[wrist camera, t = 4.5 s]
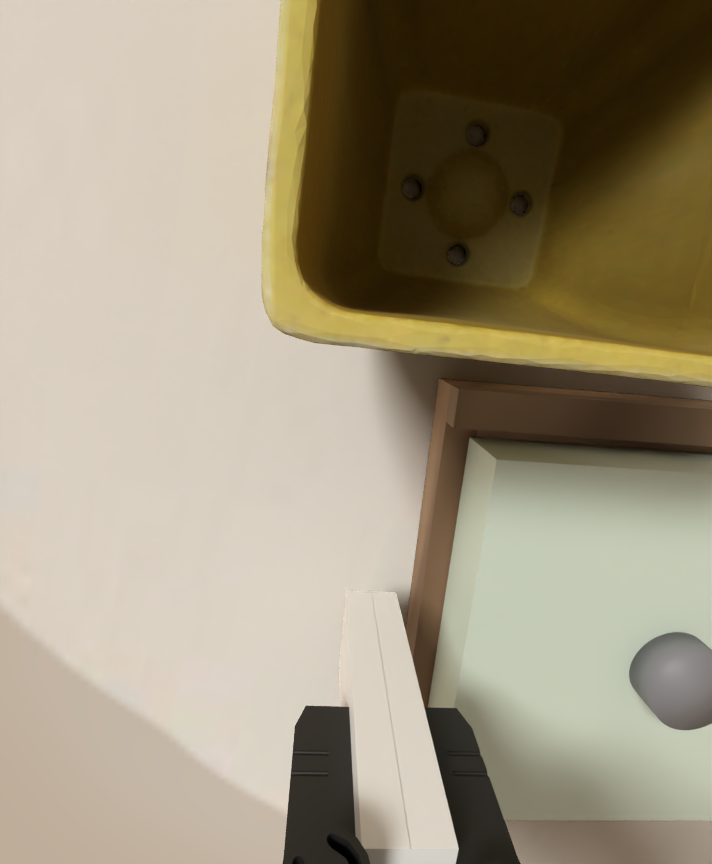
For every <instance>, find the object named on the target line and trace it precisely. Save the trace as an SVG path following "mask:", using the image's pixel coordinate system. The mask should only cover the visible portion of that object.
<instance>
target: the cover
mask: <svg viewBox="0 0 712 864" xmlns="http://www.w3.org/2000/svg"><path fill="white" fill-rule="evenodd" d="M428 707H433V708H457V709H458V710H459V712H460V713H461V714H462V716H463V717H464V718H465V720H466V721H467V722H468V723H469V725H470V726H471V727H472V729H473V732H474V735H475V738H476V740H477V743H478V746H479V749H480V755H481V756H482V758H483V760H484V763H485V766H486V769H487V775H488V777H489V778H490V781H491V783H492V786H493V789H494V792H495V795H496V798H497V801H498V803H499V806H500V809H501V812H502V815H503V818H504V821H712V454H699V453H685V452H671V451H657V450H643V449H629V448H615V447H601V446H586V445H572V444H558V443H544V442H530V441H516V440H502V439H488V438H473V437H470V438H469V444H468V451H467V457H466V463H465V470H464V476H463V483H462V489H461V496H460V502H459V509H458V515H457V522H456V528H455V535H454V541H453V548H452V554H451V561H450V567H449V574H448V580H447V587H446V593H445V599H444V606H443V612H442V619H441V625H440V632H439V638H438V645H437V651H436V658H435V664H434V671H433V677H432V684H431V690H430V697H429V703H428Z"/></svg>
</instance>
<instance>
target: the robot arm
mask: <svg viewBox="0 0 712 864" xmlns="http://www.w3.org/2000/svg"><path fill="white" fill-rule="evenodd" d="M339 691H340V707H331V706H306V707H305V709H304V710H303V712H302V714H301V716H300V718H299V720H298V722H297V723H296V725H295V733H294V745H293V756H292V768H291V780H290V791H289V803H288V815H287V826H286V838H285V850H284V860H283V864H520V862H519V859H518V857H517V855H516V852H515V849H514V846H513V844H512V841H511V838H510V835H509V832H508V829H507V826H506V823H505V821H504V818H503V815H502V812H501V809H500V806H499V803H498V801H497V798H496V795H495V792H494V789H493V786H492V783H491V781H490V778H489V777H488V775H487V769H486V766H485V763H484V760H483V758H482V756H481V755H480V749H479V746H478V743H477V740H476V738H475V735H474V732H473V729H472V727H471V726H470V725H469V723H468V722H467V721H466V720H465V718H464V717H463V716H462V714H461V713H460V712H459V710H458V709H457V708H433V707H424V704H423V700H422V696H421V692H420V688H419V684H418V680H417V676H416V671H415V667H414V663H413V659H412V655H411V651H410V647H409V643H408V639H407V635H406V630H405V626H404V622H403V618H402V614H401V610H400V606H399V602H398V598H397V594H396V592H378V591H356V590H346V598H345V609H344V619H343V629H342V640H341V650H340V661H339Z"/></svg>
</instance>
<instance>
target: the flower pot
mask: <svg viewBox="0 0 712 864" xmlns="http://www.w3.org/2000/svg"><path fill="white" fill-rule="evenodd" d="M472 125H479V126H481V127H483V128H484V130H485V133H486V138H485V141H484V143H483V144H481V145H479V146H473V145H472V144H470V143H469V142H468V140H467V135H466V134H467V131H468V129H469V128H470V127H471V126H472ZM409 178H415V179H417V180H418V181H419V182H420V183H421V187H422V191H421V194H420V195H419V196H418V197H417V198H415V199H409V198H407V197H406V196H405V195H404V193H403V189H402V187H403V184H404V182H405V181H406V180H407V179H409ZM515 195H522V196H523V197H525V198H526V200H527V202H528V207H527V210H526V211H525V213H523V214H521V215H516V214H514V213H513V212H512V211H511V208H510V201H511V199H512V197H514V196H515ZM454 245H461V246H462V247H464V249H465V251H466V257H465V260H464V261H463V262H462V263H461V264H458V265H455V264H452V263H451V262H450V261H449V260H448V257H447V256H448V251H449V249H450V248H451V247H452V246H454ZM262 298H263V303H264V307H265V310H266V313H267V315H268V317H269V319H270V321H271V323H272V325H273V326H274V327H275V328H277V329H278V330H280V331H281V332H283V333H284V334H287V335H290V336H293V337H296V338H299V339H302V340H306V341H310V342H314V343H321V344H330V345H339V346H351V347H361V348H369V349H377V350H384V351H393V352H403V353H412V354H422V355H432V356H442V357H453V358H463V359H473V360H482V361H491V362H500V363H509V364H518V365H527V366H536V367H545V368H554V369H563V370H573V371H581V372H589V373H600V374H609V375H617V376H625V377H633V378H642V379H652V380H662V381H668V382H675V383H682V384H691V385H699V386H708V387H712V0H281V5H280V18H279V30H278V43H277V57H276V76H275V90H274V99H273V109H272V118H271V128H270V139H269V150H268V161H267V173H266V187H265V208H264V223H263V232H262Z"/></svg>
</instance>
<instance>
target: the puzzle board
mask: <svg viewBox="0 0 712 864" xmlns="http://www.w3.org/2000/svg"><path fill="white" fill-rule="evenodd" d="M470 437H473V438H476V437H484V438H498V439H513V440H527V441H541V442H555V443H569V444H583V445H597V446H611V447H625V448H639V449H653V450H668V451H682V452H696V453H710V454H712V401H708V400H696V399H684V398H671V397H659V396H647V395H634V394H622V393H610V392H597V391H585V390H573V389H560V388H548V387H536V386H523V385H511V384H499V383H486V382H474V381H462V380H449V379H439V380H438V388H437V395H436V403H435V410H434V418H433V426H432V433H431V441H430V448H429V456H428V463H427V471H426V478H425V486H424V493H423V501H422V509H421V516H420V524H419V531H418V539H417V546H416V554H415V561H414V569H413V576H412V584H411V592H410V599H409V607H408V614H407V622H406V629H405V630H406V635H407V639H408V643H409V647H410V651H411V655H412V659H413V663H414V667H415V671H416V676H417V680H418V684H419V688H420V692H421V696H422V700H423V704H424V707H428V703H429V697H430V690H431V684H432V677H433V671H434V664H435V658H436V651H437V645H438V638H439V632H440V625H441V619H442V612H443V606H444V599H445V593H446V587H447V580H448V574H449V567H450V561H451V554H452V548H453V541H454V535H455V528H456V522H457V515H458V509H459V502H460V496H461V489H462V483H463V476H464V470H465V463H466V457H467V451H468V444H469V438H470Z"/></svg>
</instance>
